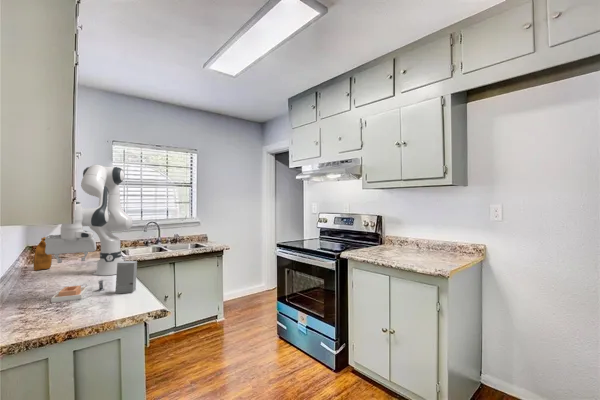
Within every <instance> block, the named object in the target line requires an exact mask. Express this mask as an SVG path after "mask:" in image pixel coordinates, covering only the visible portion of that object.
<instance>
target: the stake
mask: <svg viewBox="0 0 600 400" xmlns="http://www.w3.org/2000/svg"><path fill="white" fill-rule="evenodd" d="M98 285H99V286H98V289H97V291H98V292H102V291H105V288H104V280H99V281H98Z"/></svg>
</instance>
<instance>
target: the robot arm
mask: <svg viewBox="0 0 600 400" xmlns="http://www.w3.org/2000/svg"><path fill="white" fill-rule="evenodd" d="M124 179H125V172H124V170H123V169H122V168H121V167H118V166H105V165H100V164H92V165H90V166H87V167H86V168H84V170H83V171H82V180H81V181H80V186H81V187H80V188H81V189H82V190H83V192H84V193H86V194H87V195H89V196H92V197H95V198H99V199H98V206H97V207H83V205H82V202H79V201H75V202H76V210H75V223H74V224H62V223H61V226H60V234H50V235H48V236H46V238H45V243H46V248H45V253H46V254H51V255H54V258H55V259H56V260H57V261H56V262H57V263H58V264H61V263H63V258H60V257H59V256H60V255H61V254H77V253H78V254H79V253H83V255H84V256H82V257H81V258H80V261H81V262H85V261H86V257H87V256H88V254H89V253H93V252H95V251H96V250H97V241H96V238H94V233H95V234H96V235H97V237H98V238H99V241H100V253H99V259H98V260H97V261H96V271H94V272H93V275H94V276H112V275H114V276H115V275H117V263H118V262H121V261H124V259H123V258H122V250H121V239H120V238H119V237H117V236H115V235H114V234H113V233H112V232H122V231H128V230H130V229H131V228H132V226H133V223H134V222H133V218H132V217H131V216H130V215H129V214H127V213H126V211H124V209H123V207H122V203H121V194H120V193H121V192H120V184H122V183H123V181H124ZM83 227H89V229H90V230H92V231H93V232H92V231H89V230H84V229H83Z"/></svg>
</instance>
